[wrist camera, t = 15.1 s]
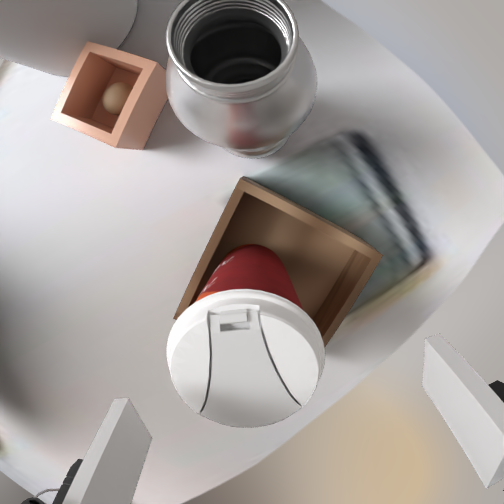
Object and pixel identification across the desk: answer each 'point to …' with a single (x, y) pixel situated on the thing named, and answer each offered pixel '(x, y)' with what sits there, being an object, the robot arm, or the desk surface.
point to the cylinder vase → (60, 30)
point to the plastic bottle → (239, 73)
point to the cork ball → (116, 97)
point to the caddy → (291, 253)
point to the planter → (94, 85)
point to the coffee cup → (246, 344)
